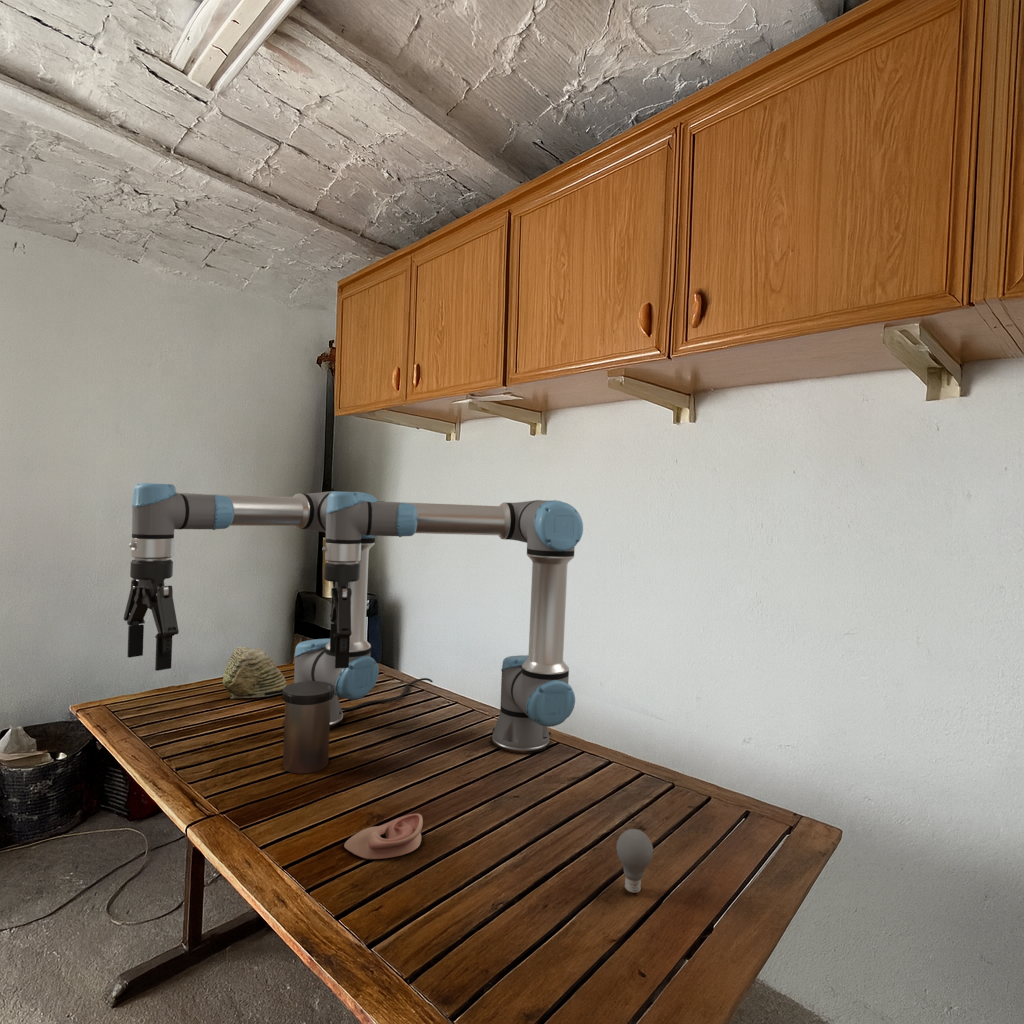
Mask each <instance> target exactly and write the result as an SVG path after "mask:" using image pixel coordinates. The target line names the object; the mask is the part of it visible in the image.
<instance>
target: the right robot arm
mask: <svg viewBox="0 0 1024 1024" xmlns="http://www.w3.org/2000/svg"><path fill="white" fill-rule="evenodd" d="M333 491H334V492H331V493H330V494H329V495H328V501H327V511H326V533H325V546H323V547H322V549H321V550H322V552H325V553H324V560H325V561H326V562H325V564H324V566H323V567H324V568H323V570H324V571H323V579H324V580H325V581H326V582H331V583H332V588H331V589H330V595H331V606H330V614H329V617H330V632H329V633H330V634H329V639H330V652H336V654H335V668H349V647H350V636H351V634H352V631H351V595H352V590H351V588H348V583H349V582H354V581H358V580H359V579H360V565H359V564H358V561H360V560H361V536H362V535H365V536H369V535H373V536H375V537H376V536H377V537H378V536H379V537H398V538H403V537H412V536H414V535H415V534H429V535H431V534H432V535H465V536H467V535H468V536H469V535H470V536H498V537H499V538H500V539H501V540H510V541H518V542H520V543H521V542H522V543H526V556H527V557H528V558H529V560H530V561H531V562H532V567H531V586H530V588H531V590H530V610H529V611H530V612H529V613H530V615H529V616H530V617H529V633H528V635H529V637H528V655H527V654H525V655H524V654H522V655H521V654H519V655H518V654H517V655H510V656H509V655H508V656H506V657H505V658H503V660H502V664H501V669H500V672H501V679H500V680H501V682H500V707H499V709H500V710H499V715H498V717H497V720H496V723H495V726H494V727H493V728H492V730H491V733H492V736H491V737H492V738H491V743H492V745H493V746H495V747H496V748H497V749H499V750H502V751H504V752H508V753H512V754H536V753H539V752H543V751H544V750H547V749H548V748H549V746H550V738H551V737H550V736H551V734H552V733H551V732H550V731H549V729H548V728H550V727H557V726H558V725H561V724H562V723H564V722H565V721H566V720H567V719H568V718H569V717H570V716H571V714H572V713H573V712H574V709H575V706H576V695H575V692H574V690H573V688H572V686H571V685H570V684H569V678H570V677H569V676H570V666H569V665H568V664H566V662H565V661H564V649H565V631H566V630H565V629H566V608H567V607H566V603H567V584H568V566H569V565H568V564H569V562H571V561H572V560H573V559H574V558H575V548H576V546H577V545H578V543H580V541H581V539H582V538H583V537H582V536H583V533H584V523H583V518H582V516H581V514H580V513H579V511H578V510H577V509H576V508H575V507H574V506H573V505H571V504H569V503H568V502H565V501H562V500H557V499H553V500H547V499H546V500H543V499H536V500H535V499H534V500H526V501H519V502H501V503H500V505H479V504H476V505H475V504H452V503H451V504H450V503H429V502H405V501H403V502H400V501H399V502H398V501H385V500H378V501H376V502H367V501H364V499H363V495H362V493H363V492H362V493H358V492H359V491H338V492H336V491H337V490H336V491H335V490H333Z"/></svg>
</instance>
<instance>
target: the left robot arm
mask: <svg viewBox="0 0 1024 1024" xmlns="http://www.w3.org/2000/svg"><path fill="white" fill-rule="evenodd" d="M334 491H335V490H333V491H332V490H330V491H321V492H311V493H295V494H294V495H293V496H276V495H275V496H274V495H273V496H272V495H248V494H247V495H246V494H244V495H243V494H220V493H219V494H218V493H217V494H216V493H215V494H214V493H189V492H187V493H186V492H177V491H176V486H175V485H174V484H173V483H152V482H139V483H137V484H136V485H135V486H134V488H133V492H132V501H131V520H132V521H131V542H130V543H128V547H129V548H130V549H131V550H130V556H131V558H133V559H132V560H131V561H130V567H129V568H130V571H129V574H130V575H129V576H130V578H131V581H130V590H129V594H128V598H127V603H126V607H125V610H124V615H123V621H124V622H126V624H127V626H128V629H127V630H128V631H127V658H135V657H142V656H144V635H145V634H144V630H145V625H144V624H145V623H146V621H145V619H144V618H145V616H146V615H147V612H148V609H149V610H151V613H152V618H153V620H154V624H155V627H156V631H157V633H156V635H155V636H154V638H155V661H154V663H155V665H154V668H155V669H154V670H155V671H157V672H159V671H164V670H169V669H172V659H173V657H172V655H173V637H175V636H176V635H179V632H180V631H179V625H178V619H177V615H176V614H177V613H176V609H175V603H174V597H173V595H174V593H173V585H165V580H167V579H171V578H172V577H173V575H174V573H173V572H174V561H173V560H172V559H171V558H173V557H174V554H175V553H174V552H175V530H213V531H215V530H224V529H228V528H230V526H233V527H234V526H237V527H238V526H240V527H243V526H246V527H247V526H249V527H250V526H258V527H259V526H268V527H269V526H276V527H277V526H282V527H284V526H285V527H286V526H287V527H288V526H289V527H290V526H291V527H293V528H294V529H296V530H308V531H309V530H310V531H316V532H319V533H325V534H326V511H327V501H328V495H329V494H330V493H331V492H334ZM336 492H339V491H337V490H336ZM357 492H358V493H362V495H363V499H364V501H367V502H376V501H379V500H378V498H377V497H375V495H373V494H370V493H367V492H363V491H362V492H361V491H357ZM375 544H376V536H373V535H369V536H365V535H362V536H361V560H360V561H358V564H359V565H360V579H359V580H358V581H354V582H349V583H348V588H351V590H352V595H351V631H352V634H351V636H350V647H349V668H335V654H336V652H330V638H317V639H308V640H304V641H300V642H299V643H297V645H296V646H295V650H294V655H293V657H294V672H293V673H294V674H293V683H297V682H305V681H320V682H326V683H330V684H332V685H333V686H334V697H333V698H332V699H331V705H330V730H332V729H335V728H337V727H339V726H340V725H342V723H343V722H344V713H343V711H351V710H355V709H357V708H361V707H362V706H365V705H371V704H376V703H385V702H393V701H397V700H398V699H400V698H403V696H405V694H407V692H408V689H409V688H408V687H409V686H412V685H414V684H416V683H419V682H422V681H428V682H429V683H433V682H434V681H433V680H432V679H430V678H428V677H422V678H418V679H415V680H413V681H411V682H409V683H407V684H406V685H405V688H404V691H403V692H402V693H401V694H400V695H398V696H395V697H391V698H385V699H375V700H369V701H364V702H362V703H359V704H356V705H354V706H350V707H343V706H341V702H340V699H339V698H341V699H342V700H343V699H344V700H348V701H349V700H350V701H357V700H360V699H362V698H364V697H365V696H367V695H368V694H370V692H371V690H372V689H374V687H375V685H376V683H377V682H378V678H379V674H380V672H379V671H380V670H379V669H380V668H379V665H378V663H377V662H376V660H375V659H374V657H371V652H372V649H371V648H372V644H371V643H370V642H368V640H367V639H366V631H367V607H368V606H367V605H368V604H367V602H368V582H369V581H368V579H369V555H370V553H369V552H370V550H371V548H372V547H374V545H375Z"/></svg>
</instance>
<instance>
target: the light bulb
mask: <svg viewBox="0 0 1024 1024" xmlns="http://www.w3.org/2000/svg"><path fill="white" fill-rule="evenodd" d="M615 849H616V854H617V857H618V859H619V861H620V863H621V865H622V867H623V873H624V874H623V875H624V876H625V878H624V888H625V890H627V891H628V892H630V893H634V894H635V893H639V892H640V891H641V889H642V887H641V886H642V879H643V877H644V875H645V871H646V868H647V867H648V866H649V864H650V863H651V861H652V859H653V855H654V847H653V843H652V841H651V838H649V836H648V835H647V834H646V833H645V832H643V831H642V830H641V829H636V828H629V829H627V830H625V831H623V832H622V833H621V834H620V835H619V837H618V839H617V841H616V847H615Z"/></svg>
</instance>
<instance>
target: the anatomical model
mask: <svg viewBox="0 0 1024 1024" xmlns="http://www.w3.org/2000/svg"><path fill="white" fill-rule="evenodd" d="M423 820H424V819H423V815H421V814H420V813H409V814H405V815H403V816H400V817H397V818H395V819H392V820H390V821H388V822H386V823H383V824H381V825H378V826H377V825H376V826H370V827H367V828H364V829H362V830H360V831H358V832H356V833H355V834H353V835H352V836H351V837H350V838H348V839H347V840H346V841H345V842H344V845H343V847H344V849H346V850H347V851H348V852H350V853H351V854H353V855H355V856H358V857H360V858H362V859H366V860H381V859H389V858H390V859H391V858H396V857H400V856H404V855H406V854H409V853H412V852H414V851H415V850H417V849H418V848H419V847H420V845H421V842H422V829H423V826H424V825H423V823H424V821H423Z"/></svg>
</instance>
